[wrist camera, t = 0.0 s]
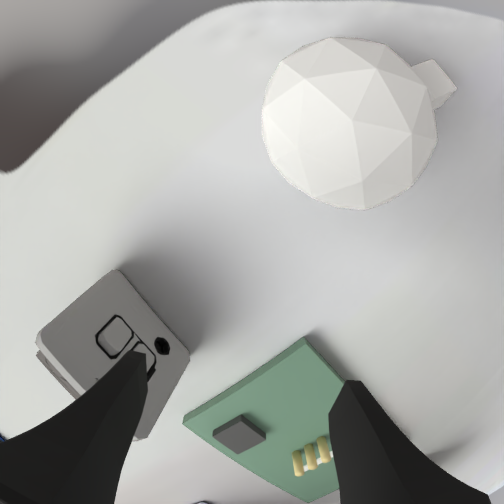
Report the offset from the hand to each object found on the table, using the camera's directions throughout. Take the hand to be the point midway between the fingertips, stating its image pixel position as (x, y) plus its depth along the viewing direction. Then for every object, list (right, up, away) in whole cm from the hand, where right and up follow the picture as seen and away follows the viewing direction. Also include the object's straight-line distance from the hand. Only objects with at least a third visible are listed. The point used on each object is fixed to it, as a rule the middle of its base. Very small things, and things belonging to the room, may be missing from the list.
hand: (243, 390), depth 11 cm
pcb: (+5, -12, +14) cm, 19 cm away
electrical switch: (-8, -1, +11) cm, 14 cm away
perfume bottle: (+6, +13, +8) cm, 16 cm away
